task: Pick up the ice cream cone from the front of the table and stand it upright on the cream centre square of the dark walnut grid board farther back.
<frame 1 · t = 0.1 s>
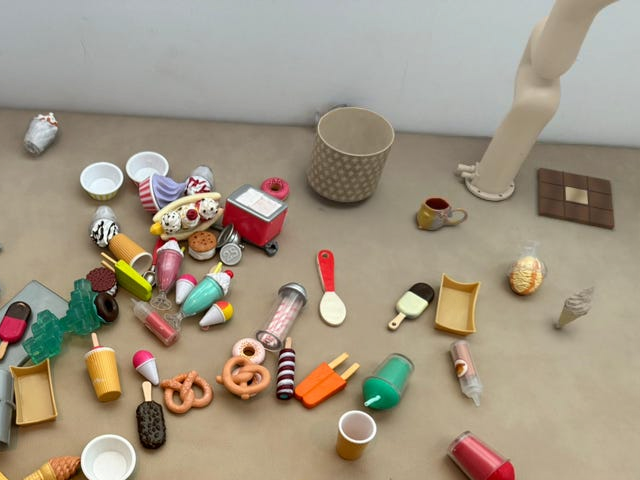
mug: (438, 224, 165), on the worktop
planter: (339, 186, 173), on the worktop
grid board: (573, 199, 169), on the worktop
ice cream cone: (557, 328, 147), on the worktop
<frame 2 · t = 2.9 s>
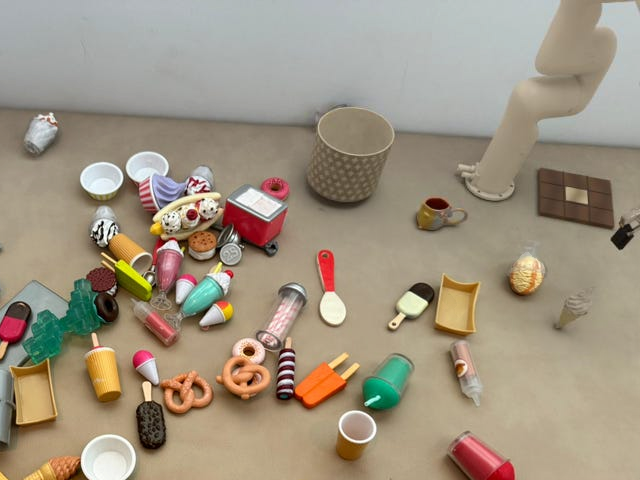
hand: (637, 240, 125), 27 cm above the worktop, tool pointing down, fingers open, 9 cm apart
nothing on the worktop moved.
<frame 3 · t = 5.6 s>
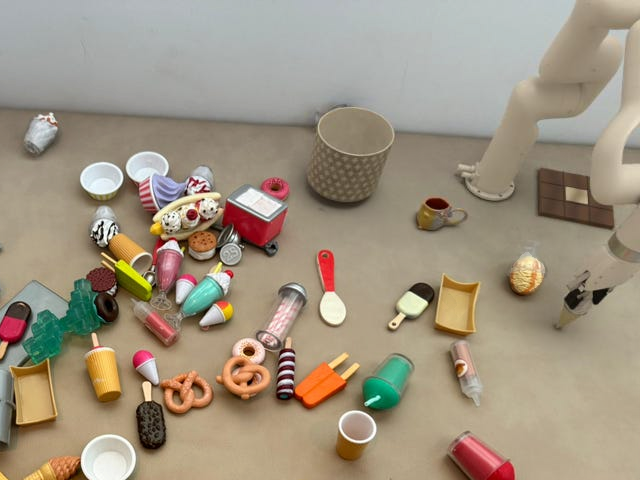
hand: (580, 301, 138), 10 cm above the worktop, tool pointing down, fingers closed on ice cream cone, 4 cm apart
ice cream cone: (557, 328, 147), on the worktop, touching gripper
everything else where it was.
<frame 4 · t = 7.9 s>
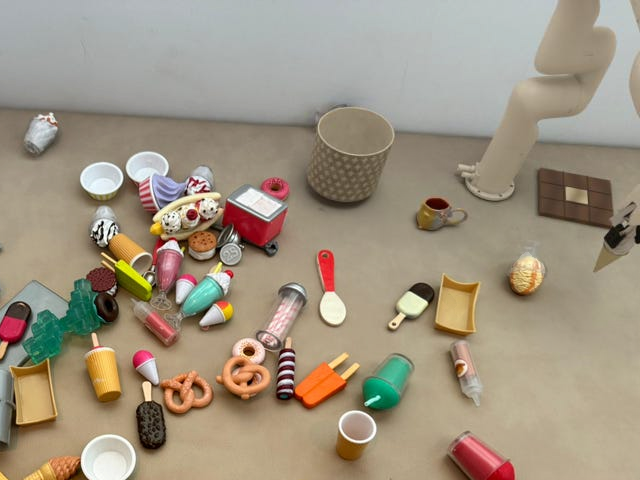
hand: (621, 240, 128), 25 cm above the worktop, tool pointing down, fingers closed on ice cream cone, 4 cm apart
ice cream cone: (593, 272, 136), point 15 cm above the worktop, touching gripper
everything else where it was.
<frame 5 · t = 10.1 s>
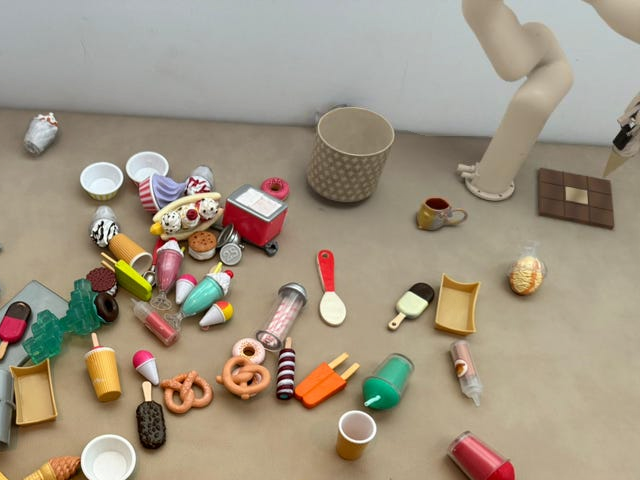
hand: (628, 144, 143), 25 cm above the worktop, tool pointing down, fingers closed on ice cream cone, 4 cm apart
ice cream cone: (602, 178, 151), point 15 cm above the worktop, touching gripper
everything else where it was.
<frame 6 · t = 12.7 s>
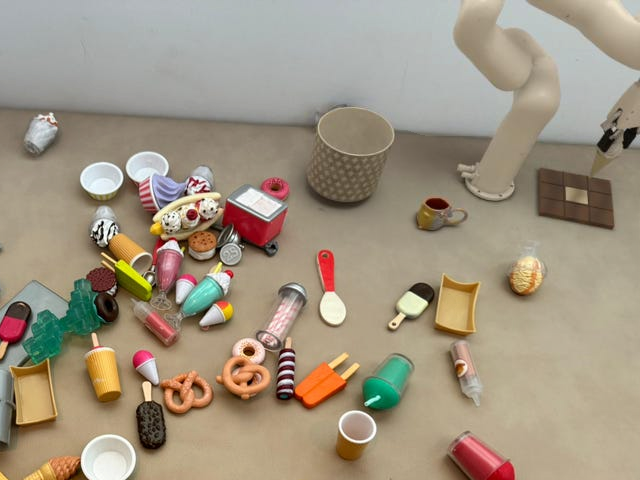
hand: (611, 146, 154), 17 cm above the worktop, tool pointing down, fingers closed on ice cream cone, 4 cm apart
ice cream cone: (589, 178, 163), point 7 cm above the worktop, touching gripper
everything else where it was.
when the fingers open (11 cm above the worktop, at t = 14.6 s): ice cream cone stays where it is, resting on grid board.
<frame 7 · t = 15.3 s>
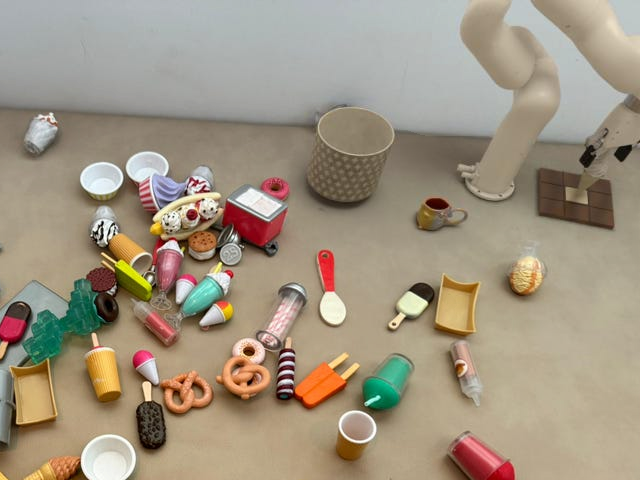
hand: (600, 161, 158), 13 cm above the worktop, tool pointing down, fingers open, 9 cm apart
ice cream cone: (576, 195, 168), point 1 cm above the worktop, touching grid board
everything else where it was.
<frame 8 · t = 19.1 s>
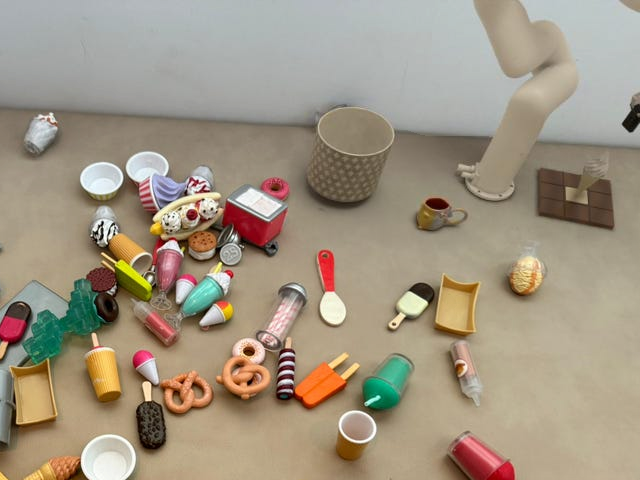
nothing on the worktop moved.
at the end: ice cream cone 0.0 cm off-centre on the grid board, point 1.2 cm above the grid board's base; ice cream cone tilted 0°; the gripper is holding nothing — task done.
